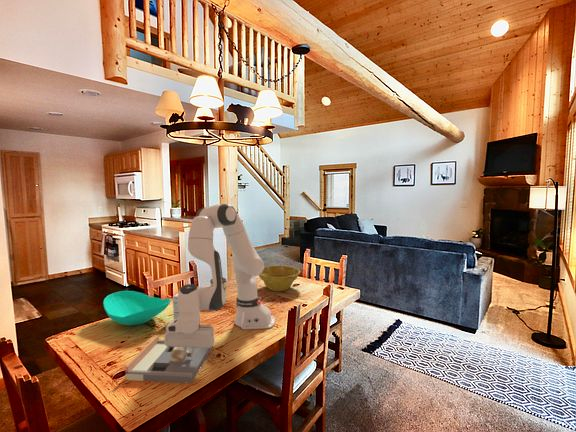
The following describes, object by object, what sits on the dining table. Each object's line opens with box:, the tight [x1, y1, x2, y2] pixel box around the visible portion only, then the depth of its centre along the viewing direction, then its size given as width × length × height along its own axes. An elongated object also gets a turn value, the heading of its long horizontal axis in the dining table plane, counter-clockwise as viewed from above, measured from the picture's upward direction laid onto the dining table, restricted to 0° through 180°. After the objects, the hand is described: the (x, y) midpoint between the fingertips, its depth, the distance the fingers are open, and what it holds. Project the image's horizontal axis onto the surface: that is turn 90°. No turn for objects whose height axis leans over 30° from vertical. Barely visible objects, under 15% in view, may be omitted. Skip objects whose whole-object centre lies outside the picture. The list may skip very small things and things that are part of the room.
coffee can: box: [209, 277, 228, 302], centre depth 195 cm, size 10×10×14 cm
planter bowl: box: [258, 265, 301, 292], centre depth 219 cm, size 32×32×13 cm
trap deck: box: [124, 335, 213, 384], centre depth 126 cm, size 26×24×6 cm
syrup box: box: [172, 293, 179, 320], centre depth 167 cm, size 6×6×14 cm
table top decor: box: [102, 290, 172, 326], centre depth 163 cm, size 40×28×13 cm
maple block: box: [171, 347, 188, 362], centre depth 125 cm, size 5×5×4 cm
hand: (189, 356), depth 125 cm, fingers closed
